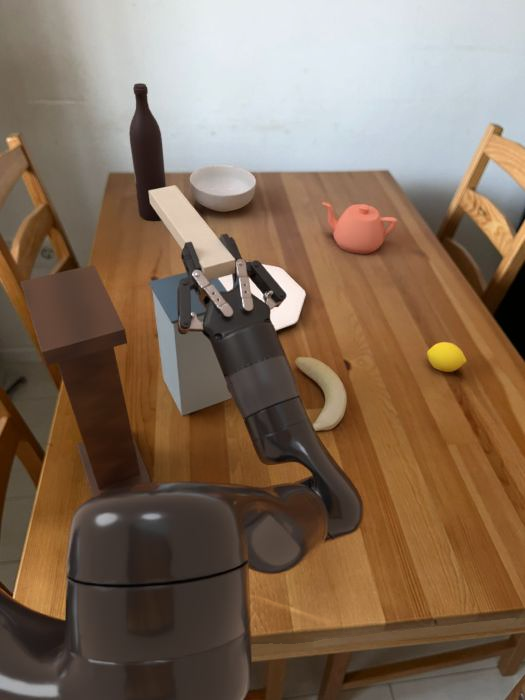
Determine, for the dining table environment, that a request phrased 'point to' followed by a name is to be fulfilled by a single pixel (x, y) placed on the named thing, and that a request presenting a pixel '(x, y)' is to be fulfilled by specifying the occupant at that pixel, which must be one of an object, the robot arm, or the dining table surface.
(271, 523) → the robot arm
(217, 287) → the container
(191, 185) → the cereal bowl
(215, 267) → the slat
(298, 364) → the fruit
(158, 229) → the dining table surface
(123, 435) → the stand
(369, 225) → the teapot
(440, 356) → the lemon
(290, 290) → the plate
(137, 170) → the wine bottle
